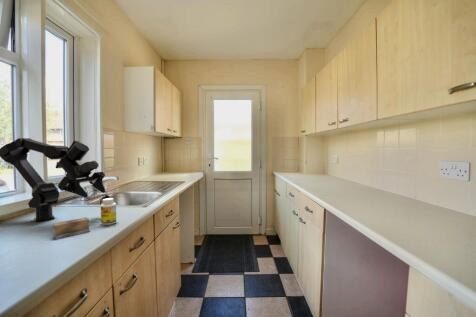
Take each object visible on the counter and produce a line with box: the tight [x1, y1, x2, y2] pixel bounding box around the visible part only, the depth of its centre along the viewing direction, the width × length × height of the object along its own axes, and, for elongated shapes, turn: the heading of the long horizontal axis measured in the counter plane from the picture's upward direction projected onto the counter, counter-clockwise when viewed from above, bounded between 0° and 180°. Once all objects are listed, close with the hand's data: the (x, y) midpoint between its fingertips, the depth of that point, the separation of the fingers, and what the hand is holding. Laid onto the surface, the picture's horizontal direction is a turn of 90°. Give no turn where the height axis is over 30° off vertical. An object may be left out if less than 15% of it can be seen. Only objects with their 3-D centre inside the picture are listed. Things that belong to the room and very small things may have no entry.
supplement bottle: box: [100, 197, 117, 226], centre depth 94 cm, size 6×6×10 cm
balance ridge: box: [53, 216, 91, 240], centre depth 83 cm, size 10×6×4 cm, turn 134°
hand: (96, 194), depth 95 cm, fingers open, 9 cm apart
